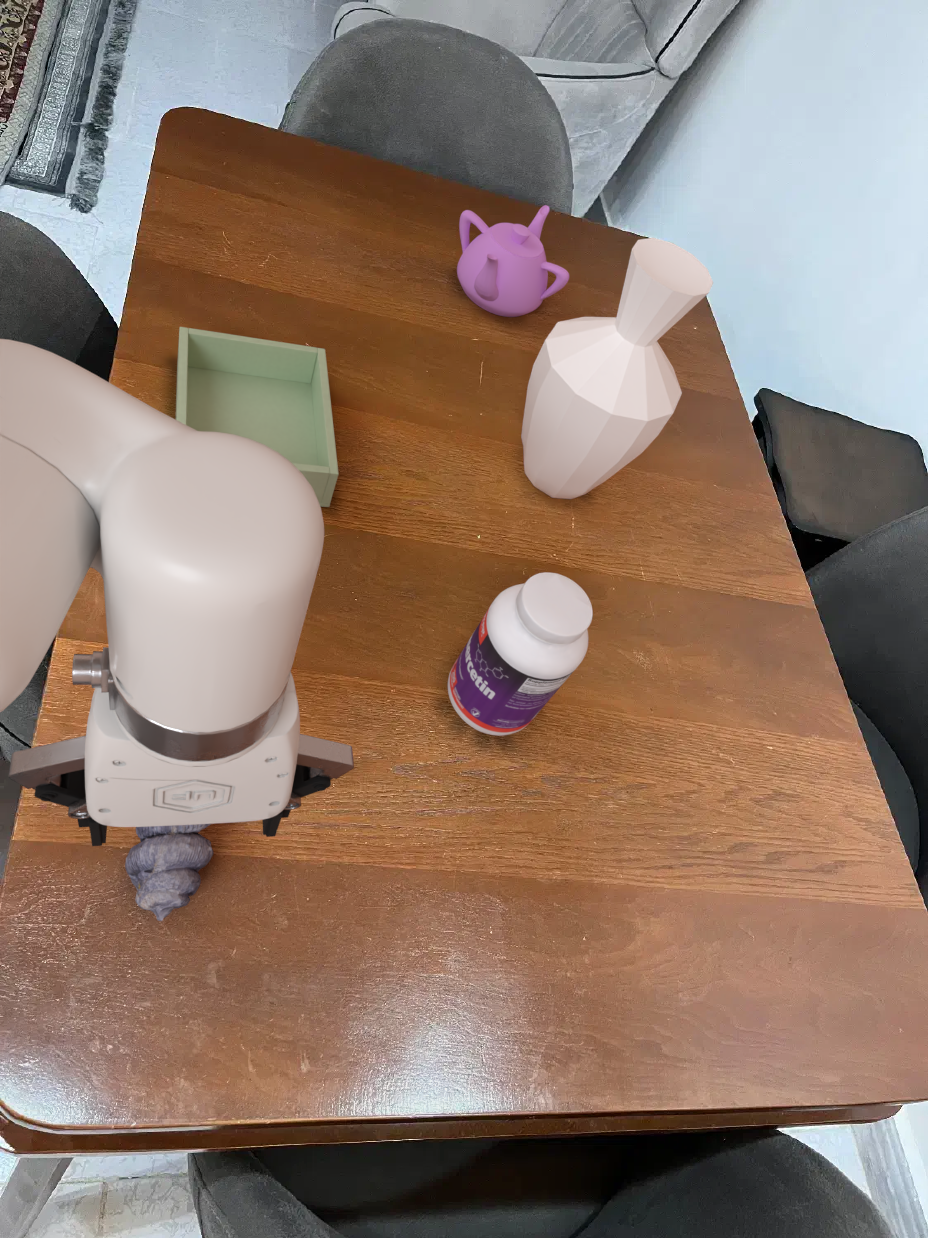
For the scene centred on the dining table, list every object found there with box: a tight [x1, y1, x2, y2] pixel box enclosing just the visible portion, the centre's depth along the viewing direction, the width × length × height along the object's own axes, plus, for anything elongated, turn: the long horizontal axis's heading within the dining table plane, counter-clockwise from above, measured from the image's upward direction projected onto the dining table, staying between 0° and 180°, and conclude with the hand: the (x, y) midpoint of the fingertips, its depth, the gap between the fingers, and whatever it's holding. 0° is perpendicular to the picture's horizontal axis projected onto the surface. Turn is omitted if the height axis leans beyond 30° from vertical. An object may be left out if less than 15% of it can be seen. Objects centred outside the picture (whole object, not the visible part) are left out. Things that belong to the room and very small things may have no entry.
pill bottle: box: [447, 571, 593, 737], centre depth 66 cm, size 8×8×14 cm
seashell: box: [124, 824, 214, 922], centre depth 54 cm, size 5×5×10 cm
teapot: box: [456, 204, 570, 318], centre depth 102 cm, size 12×14×9 cm
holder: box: [175, 326, 340, 508], centre depth 77 cm, size 14×17×4 cm
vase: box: [520, 237, 714, 500], centre depth 81 cm, size 14×14×25 cm
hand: (187, 817), depth 51 cm, fingers open, 9 cm apart
